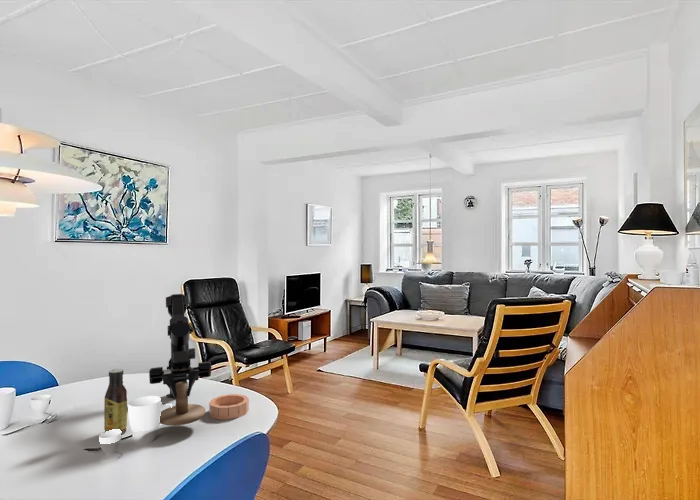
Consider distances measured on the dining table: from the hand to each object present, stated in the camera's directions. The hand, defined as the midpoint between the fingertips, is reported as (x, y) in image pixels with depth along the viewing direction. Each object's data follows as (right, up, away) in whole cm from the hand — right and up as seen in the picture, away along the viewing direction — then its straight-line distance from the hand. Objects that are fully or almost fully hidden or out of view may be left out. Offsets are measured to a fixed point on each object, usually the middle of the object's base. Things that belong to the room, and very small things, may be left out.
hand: (181, 396), depth 135 cm
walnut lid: (0, -7, +1) cm, 7 cm away
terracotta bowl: (+10, -11, +16) cm, 22 cm away
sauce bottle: (-20, -11, -1) cm, 23 cm away
